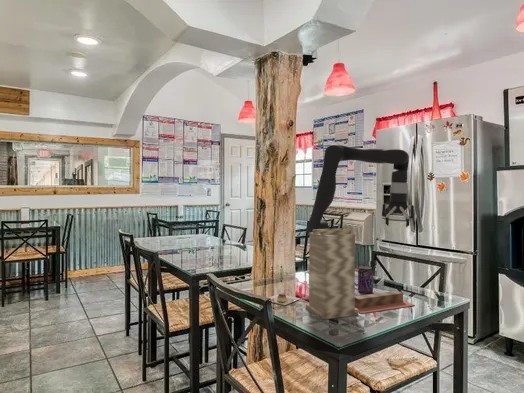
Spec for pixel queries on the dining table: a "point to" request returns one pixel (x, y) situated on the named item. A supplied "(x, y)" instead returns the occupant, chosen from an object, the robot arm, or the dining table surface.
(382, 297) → the block
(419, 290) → the dining table surface
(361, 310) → the mat
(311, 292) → the pedestal
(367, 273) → the beverage can
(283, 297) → the dessert
